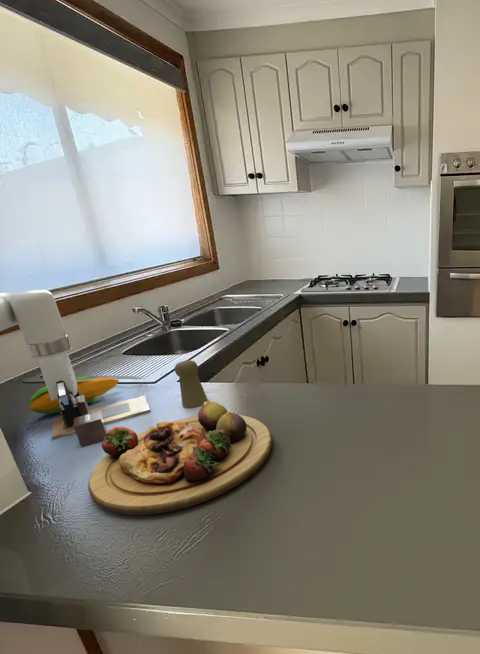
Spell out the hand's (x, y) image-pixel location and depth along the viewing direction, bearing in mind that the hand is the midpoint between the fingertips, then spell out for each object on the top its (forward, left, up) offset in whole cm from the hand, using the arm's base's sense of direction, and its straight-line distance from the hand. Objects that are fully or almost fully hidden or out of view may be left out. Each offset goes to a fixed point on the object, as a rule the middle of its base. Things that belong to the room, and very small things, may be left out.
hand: (75, 415), depth 100 cm
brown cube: (+3, -12, -2) cm, 13 cm away
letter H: (0, 0, -1) cm, 1 cm away
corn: (0, +13, -2) cm, 13 cm away
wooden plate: (+18, -36, -2) cm, 40 cm away
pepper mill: (+25, -8, -2) cm, 26 cm away
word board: (+5, 0, -2) cm, 5 cm away
